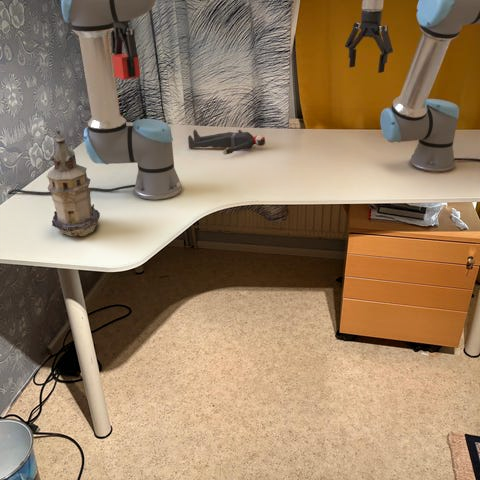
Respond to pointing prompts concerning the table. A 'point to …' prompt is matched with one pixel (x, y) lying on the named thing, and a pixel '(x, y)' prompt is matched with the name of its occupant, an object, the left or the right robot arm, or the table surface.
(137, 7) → the left robot arm
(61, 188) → the miniature building
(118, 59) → the red cube
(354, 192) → the table surface
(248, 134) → the toy
